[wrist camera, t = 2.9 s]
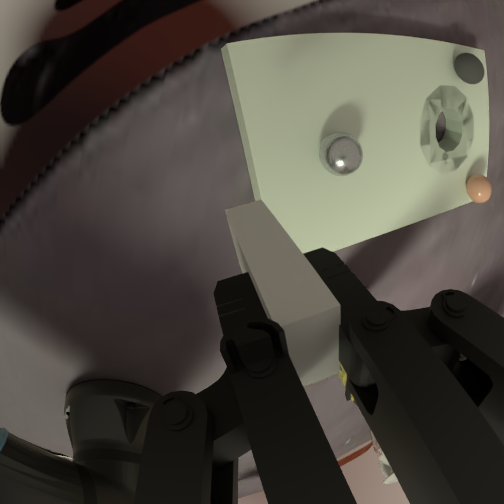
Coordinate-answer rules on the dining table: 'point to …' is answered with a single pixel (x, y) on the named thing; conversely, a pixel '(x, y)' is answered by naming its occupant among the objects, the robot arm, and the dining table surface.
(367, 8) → the dining table surface
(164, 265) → the dining table surface
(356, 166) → the steel ball
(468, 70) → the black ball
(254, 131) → the board
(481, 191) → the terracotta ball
